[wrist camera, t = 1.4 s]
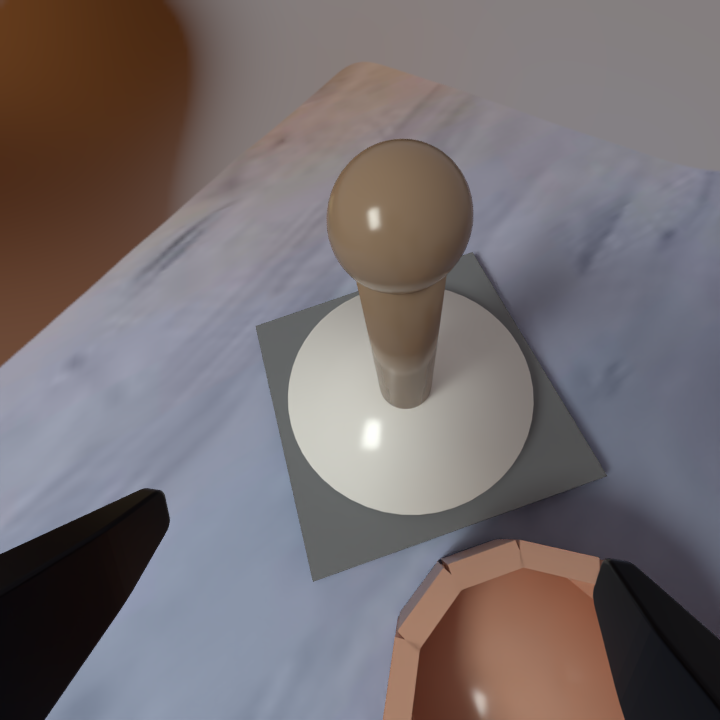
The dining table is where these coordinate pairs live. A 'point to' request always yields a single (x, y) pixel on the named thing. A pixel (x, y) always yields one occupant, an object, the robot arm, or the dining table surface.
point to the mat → (396, 532)
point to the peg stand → (407, 347)
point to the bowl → (503, 639)
